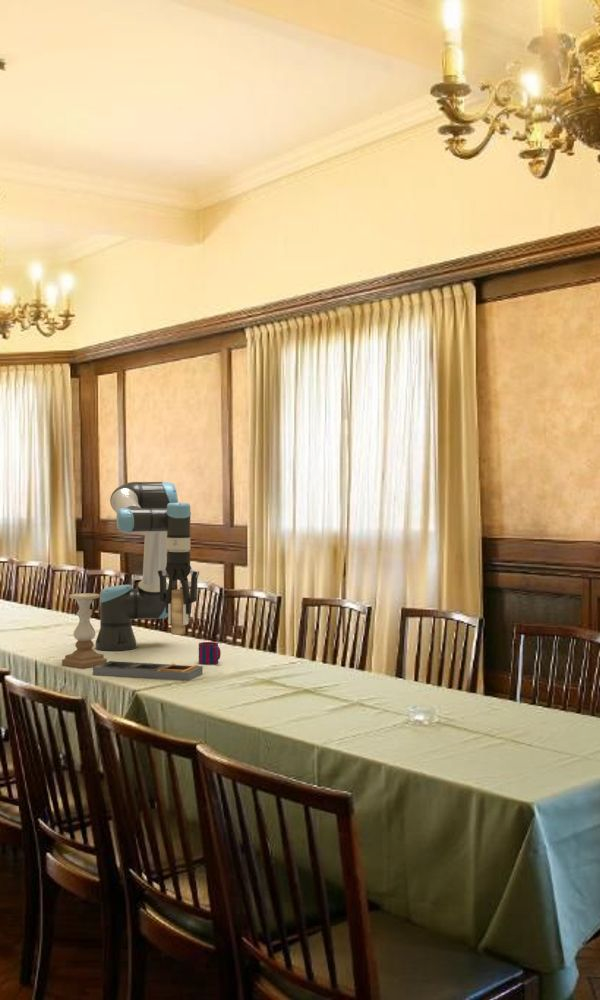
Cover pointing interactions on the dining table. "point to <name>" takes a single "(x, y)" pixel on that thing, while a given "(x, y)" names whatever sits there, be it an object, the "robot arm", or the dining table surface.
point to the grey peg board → (148, 670)
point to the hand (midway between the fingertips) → (178, 623)
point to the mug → (209, 653)
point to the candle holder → (84, 636)
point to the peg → (177, 612)
